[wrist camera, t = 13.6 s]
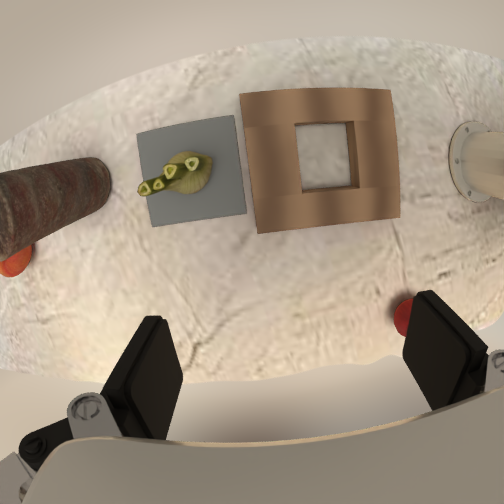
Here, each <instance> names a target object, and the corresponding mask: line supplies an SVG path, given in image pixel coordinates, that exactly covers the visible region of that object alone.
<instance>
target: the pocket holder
mask: <svg viewBox="0 0 504 504" xmlns="http://www.w3.org/2000/svg"><path fill="white" fill-rule="evenodd" d="M239 95H240V103H241V110H242V118H243V125H244V133H245V140H246V148H247V156H248V163H249V171H250V179H251V186H252V194H253V202H254V210H255V218H256V226H257V233H258V234H261V233H269V232H277V231H285V230H293V229H302V228H310V227H319V226H328V225H336V224H345V223H354V222H364V221H373V220H382V219H392V218H400V177H399V160H398V147H397V136H396V127H395V118H394V110H393V103H392V97H391V90H385V89H368V88H302V89H284V90H271V91H261V92H251V93H243V94H239ZM328 123H346V131H347V140H348V149H349V160H350V172H351V185H352V186H341V187H329V188H318V189H308V190H302V187H301V177H300V168H299V158H298V150H297V141H296V133H295V125H308V124H328Z"/></svg>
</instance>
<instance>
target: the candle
mask: <svg viewBox="0 0 504 504" xmlns="http://www.w3.org/2000/svg"><path fill="white" fill-rule="evenodd" d="M109 190H110V180H109V173H108V171H107V169H106V167H105V166H104V165H103V163H102V162H101V161H100V160H99V159H97V158H92V157H90V158H80V159H73V160H66V161H60V162H55V163H50V164H44V165H38V166H32V167H26V168H22V169H18V170H11V171H7V172H2V173H0V262H2V261H4V260H6V259H8V258H10V257H11V256H13V255H14V254H16V253H17V252H19V251H21V250H22V249H24V248H26V247H28V246H30V245H31V244H33V243H35V242H36V241H38V240H40V239H42V238H44V237H46V236H48V235H50V234H52V233H53V232H55V231H57V230H59V229H61V228H63V227H65V226H67V225H69V224H71V223H73V222H75V221H77V220H79V219H81V218H83V217H85V216H87V215H89V214H91V213H93V212H95V211H97V210H99V209H100V208H101V207H102V206H103V205H104V204H105V202H106V200H107V197H108V194H109Z"/></svg>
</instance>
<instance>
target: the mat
mask: <svg viewBox="0 0 504 504" xmlns="http://www.w3.org/2000/svg"><path fill="white" fill-rule="evenodd" d="M137 142H138V149H139V156H140V163H141V169H142V175H143V181H145V180H149V179H153V178H156V177H159V176H160V175H161V173H162V172H163V171H164V170H163V166H164V165H165V164H167V163H168V161H169V160H170V159H171V158H172V157H173V156H175V155H176V154H178V153H180V152H185V151H192V152H196V153H199V154H203V155H207V156H209V157H211V158H212V162H213V164H212V170H211V174H210V177H209V180H208V182H207V184H206V185H205V186H204V187H203V188H202V189H201V190H199V191H198V192H196V193H193V194H182V193H179V192H175V191H165V190H163V191H160V192H158V193H155V194H152V195H149V196H146V199H147V204H148V209H149V214H150V219H151V224H152V227H158V226H164V225H170V224H177V223H183V222H190V221H197V220H204V219H211V218H218V217H226V216H233V215H241V214H247V212H246V205H245V197H244V190H243V182H242V175H241V167H240V160H239V152H238V145H237V137H236V130H235V122H234V115H230V116H223V117H216V118H210V119H204V120H198V121H193V122H188V123H182V124H177V125H173V126H168V127H163V128H159V129H155V130H150V131H146V132H142V133H138V134H137Z"/></svg>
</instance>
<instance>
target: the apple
mask: <svg viewBox="0 0 504 504" xmlns="http://www.w3.org/2000/svg"><path fill="white" fill-rule="evenodd" d="M31 253H32V247H31V245H30V246H28V247H26V248H24V249H22V250H21V251H19V252H17V253H16V254H14V255H13V256H11V257H10V258H8V259H6V260H4V261H2V262H0V274H2V275H3V276H6V277H14V276H17V275H19V274H20V273H22V272H23V271H24V270H25V268H26V267H27V265H28V263H29V261H30V258H31Z"/></svg>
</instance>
